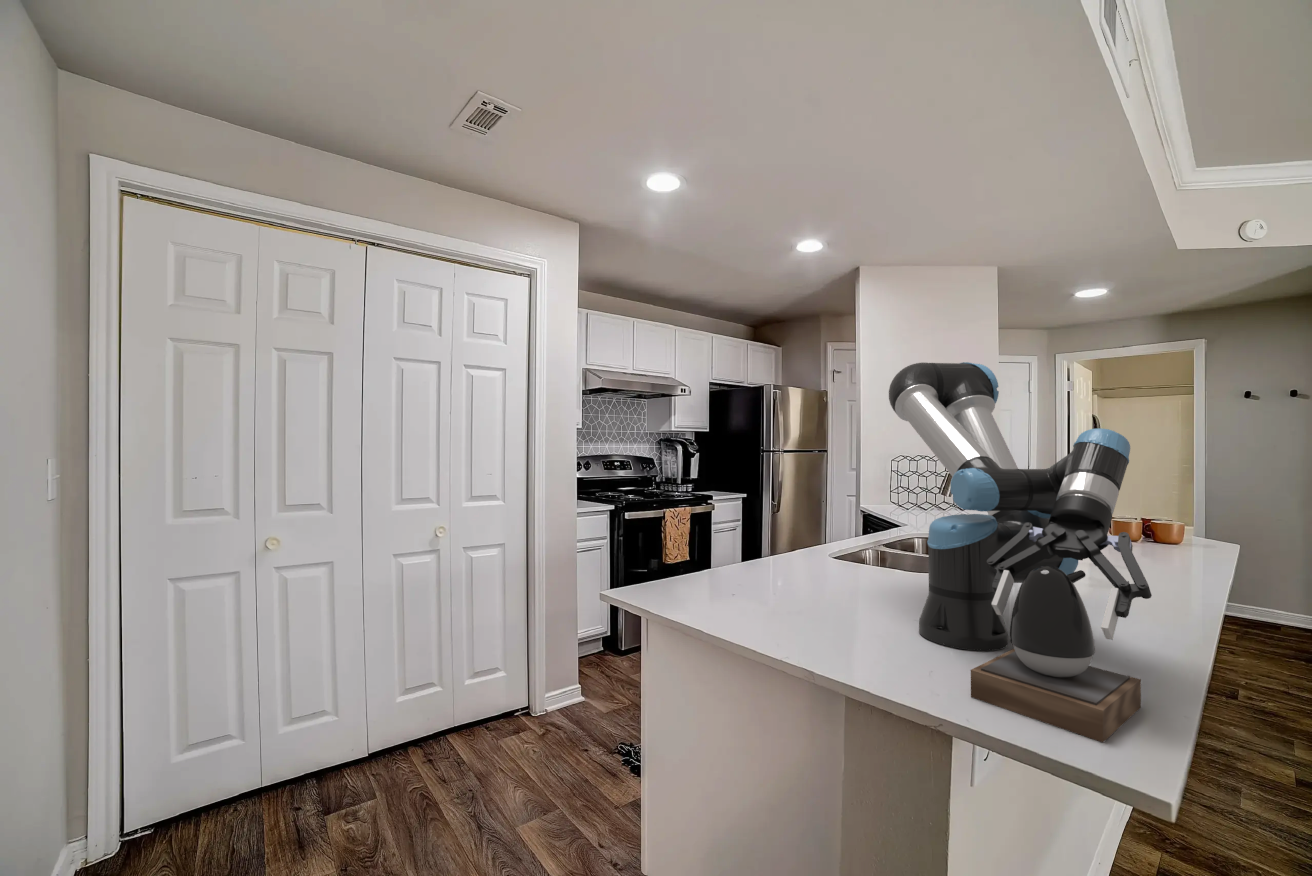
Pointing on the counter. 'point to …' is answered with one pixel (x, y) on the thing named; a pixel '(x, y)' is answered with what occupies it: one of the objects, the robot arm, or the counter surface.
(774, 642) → the counter surface
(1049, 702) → the walnut riser
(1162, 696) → the counter surface
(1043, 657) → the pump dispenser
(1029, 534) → the robot arm
